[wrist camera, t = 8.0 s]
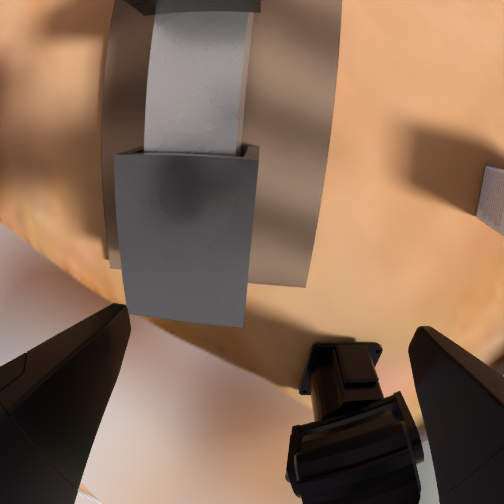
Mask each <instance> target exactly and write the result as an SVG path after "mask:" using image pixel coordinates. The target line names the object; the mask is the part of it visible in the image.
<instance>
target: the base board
mask: <svg viewBox="0 0 504 504" xmlns="http://www.w3.org/2000/svg"><path fill="white" fill-rule="evenodd" d="M341 11H342V0H262V5H261V13H254V16H253V25H252V35H251V44H250V54H249V64H248V75H247V85H246V96H245V107H244V118H243V130H242V142H241V145H251V146H260V149H259V165H258V176H257V187H256V197H255V208H254V218H253V229H252V240H251V250H250V261H249V272H248V283H254V284H266V285H278V286H290V287H303V288H305V287H306V282H307V277H308V272H309V267H310V261H311V256H312V251H313V245H314V240H315V234H316V228H317V222H318V217H319V210H320V204H321V198H322V192H323V185H324V179H325V172H326V165H327V158H328V150H329V143H330V135H331V127H332V118H333V109H334V100H335V90H336V80H337V69H338V57H339V44H340V29H341ZM154 20H155V15H148V16H144V15H143V14H142V13H140V12H139V11H138V10H136V9H135V8H133V7H132V6H131V5H129V4H128V3H127V2H125V1H124V0H115V4H114V9H113V14H112V20H111V26H110V33H109V39H108V47H107V55H106V64H105V75H104V87H103V104H102V138H101V151H102V186H103V203H104V216H105V228H106V237H107V246H108V255H109V262H110V268H114V269H121V260H120V251H119V242H118V231H117V218H116V202H115V179H114V155H115V154H118V153H121V152H124V151H127V150H131V149H134V148H137V147H140V146H144V132H145V110H146V94H147V81H148V70H149V60H150V51H151V42H152V35H153V27H154Z"/></svg>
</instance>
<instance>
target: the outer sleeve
mask: <svg viewBox="0 0 504 504" xmlns="http://www.w3.org/2000/svg"><path fill="white" fill-rule="evenodd" d="M259 149H260V146H251V145H241V154H240V157H237V156H222V155H206V154H183V153H144V146H140V147H137V148H134V149H131V150H127V151H124V152H121V153H118V154H115V155H114V179H115V202H116V218H117V231H118V242H119V251H120V260H121V269H122V276H123V284H124V291H125V297H126V304H127V309H128V314H134V315H141V316H147V317H154V318H161V319H168V320H176V321H183V322H191V323H200V324H209V325H218V326H228V327H238V328H243V326H244V315H245V304H246V293H247V283H248V272H249V261H250V250H251V240H252V229H253V218H254V208H255V197H256V187H257V176H258V165H259Z"/></svg>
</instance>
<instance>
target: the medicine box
mask: <svg viewBox="0 0 504 504" xmlns="http://www.w3.org/2000/svg"><path fill="white" fill-rule="evenodd" d="M476 217H477V218H478V219H479V220H481V221H482V222H484V223H485V224H486V225H488V226H489V227H491V228H492V229H494V230H495V231H497V232H498V233H500V234H501V235H503V236H504V169H500V168H496V167H493V166H488V165H487V166H486V167H485V171H484V177H483V182H482V187H481V193H480V198H479V203H478V208H477V213H476Z"/></svg>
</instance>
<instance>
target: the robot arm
mask: <svg viewBox="0 0 504 504" xmlns="http://www.w3.org/2000/svg"><path fill="white" fill-rule="evenodd" d="M130 332H131V325H130V319H129V314H128V309H127V306H126V305H123V304H117V303H113V304H111V305H109V306H107V307H106V308H104V309H102V310H100V311H98V312H97V313H95V314H93V315H91V316H89V317H87V318H86V319H84V320H83V321H80V322H79V323H77V324H75V325H73V326H72V327H70V328H68V329H67V330H64V331H63V332H61V333H59V334H57V335H55V336H54V337H52V338H50V339H49V340H47V341H45V342H43V343H41V344H40V345H38V346H36V347H35V348H33V349H31V350H29V351H28V352H27V353H24V354H22V355H20V356H19V357H17V358H15V359H13V360H12V361H10V362H8V363H6V364H4V365H3V366H0V504H74V503H75V499H76V496H77V493H78V490H77V489H79V485H80V482H81V479H82V475H83V472H84V469H85V466H86V463H87V460H88V457H89V454H90V451H91V448H92V445H93V442H94V439H95V436H96V433H97V430H98V428H99V425H100V422H101V420H102V417H103V414H104V412H105V409H106V406H107V404H108V401H109V398H110V396H111V393H112V391H113V388H114V386H115V383H116V380H117V378H118V375H119V372H120V368H121V365H122V361H123V358H124V354H125V350H126V347H127V344H128V340H129V337H130ZM316 349H318V350H316ZM377 349H378V350H377ZM382 350H383V349H382V347H381V345H379V344H321V343H317V344H314V345H312V347H311V349H310V353H309V356H308V360H307V363H306V366H305V370H304V373H303V376H302V380H301V383H300V386H299V394H301V395H311V398H312V405H313V413H314V420H315V422H311V423H308V424H304V425H296V426H293V427H292V434H291V436H290V444H289V452H288V460H287V468H286V471H287V472H286V475H285V478H286V480H287V481H288V482H289V483H291V486H292V489H293V491H294V493H295V495H296V496H297V497H299V498H302V502H303V504H418V503H419V500H420V492H421V485H420V480H419V475H418V471H417V467H416V464H419V463H421V462H424V453H423V448H422V444H421V440H420V436H419V433H418V430H417V427H416V425H415V422H414V420H413V418H412V416H411V413H410V411H409V409H408V407H407V405H406V403H405V400H404V398H403V396H402V394H401V392H400V391H398V392H396V393H393V394H394V395H391V396H389V397H386V398H384V396H383V393H382V390H381V387H380V384H379V381H378V380H379V378H378V375H377V373H376V370H375V366H376V364H377V362H378V359H379V357H380V355H381V353H382ZM408 353H409V358H410V363H411V368H412V373H413V378H414V384H415V389H416V393H417V397H418V401H419V405H420V408H421V412H422V416H423V420H424V424H425V428H426V432H427V437H428V441H429V445H430V449H431V454H432V460H433V465H434V470H435V476H436V481H437V487H438V494H439V501H440V504H504V377H503V376H502V375H501V374H499V373H498V372H496V371H495V370H493V369H492V368H491V367H489V366H488V365H486V364H485V363H483V362H482V361H481V360H479V359H478V358H476V357H475V356H473V355H472V354H470V353H469V352H468V351H466V350H465V349H463V348H462V347H460V346H459V345H457V344H456V343H454V342H453V341H451V340H450V339H448V338H447V337H446V336H444V335H443V334H441V333H440V332H438V331H437V330H435V329H434V328H432V327H430V326H420V327H418V328H417V330H416V332H415V334H414V336H413V338H412V340H411V342H410V345H409V348H408Z"/></svg>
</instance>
